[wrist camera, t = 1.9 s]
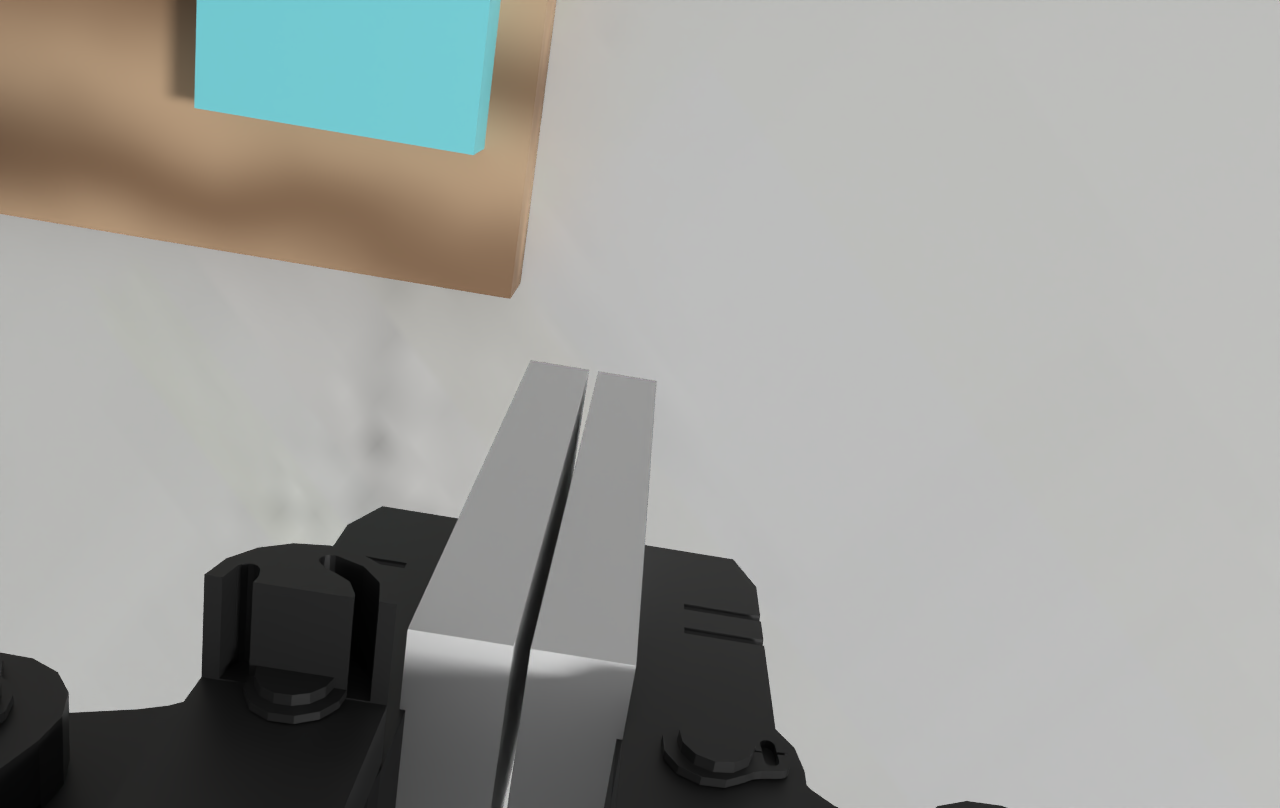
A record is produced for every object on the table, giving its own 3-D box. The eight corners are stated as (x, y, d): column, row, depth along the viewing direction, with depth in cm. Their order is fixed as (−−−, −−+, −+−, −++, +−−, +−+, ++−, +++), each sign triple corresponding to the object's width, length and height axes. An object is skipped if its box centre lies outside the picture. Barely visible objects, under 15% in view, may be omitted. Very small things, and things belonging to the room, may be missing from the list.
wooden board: (520, 282, 40) (510, 298, 38) (-118, 176, 40) (-169, 185, 37) (580, -191, 35) (573, -207, 33) (-154, -320, 34) (-215, -346, 32)
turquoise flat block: (484, 148, 36) (473, 155, 34) (219, 104, 36) (194, 107, 34) (505, -41, 34) (495, -45, 32) (225, -89, 34) (198, -96, 32)
